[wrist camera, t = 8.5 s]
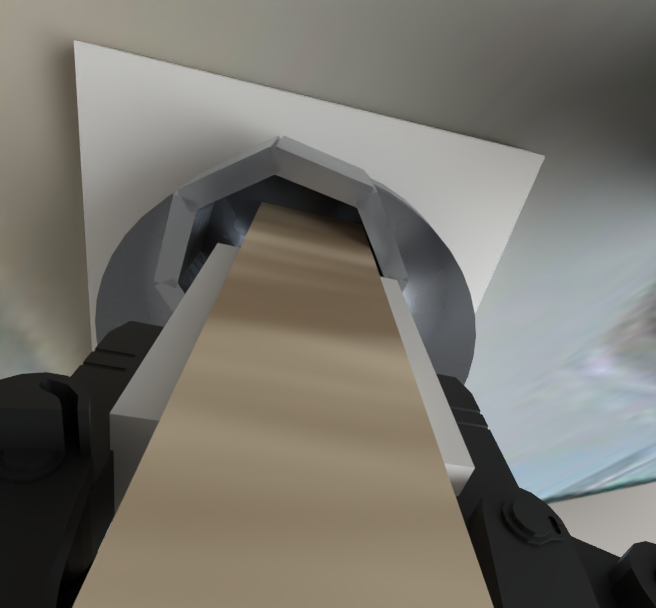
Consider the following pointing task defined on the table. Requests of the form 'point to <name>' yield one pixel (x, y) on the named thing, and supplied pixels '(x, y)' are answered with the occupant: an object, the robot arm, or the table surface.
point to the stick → (292, 450)
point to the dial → (300, 194)
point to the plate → (260, 126)
